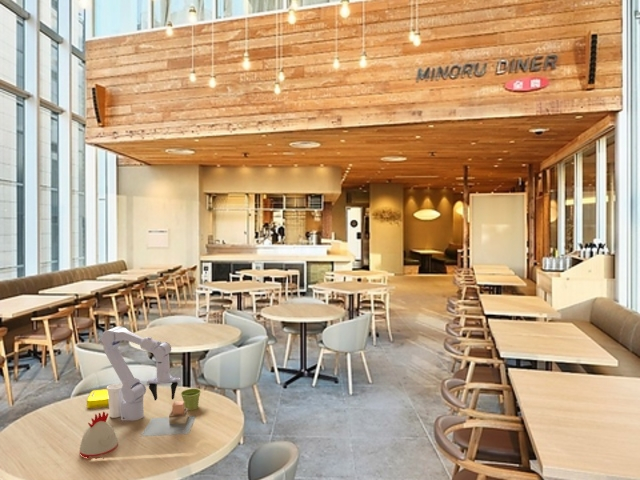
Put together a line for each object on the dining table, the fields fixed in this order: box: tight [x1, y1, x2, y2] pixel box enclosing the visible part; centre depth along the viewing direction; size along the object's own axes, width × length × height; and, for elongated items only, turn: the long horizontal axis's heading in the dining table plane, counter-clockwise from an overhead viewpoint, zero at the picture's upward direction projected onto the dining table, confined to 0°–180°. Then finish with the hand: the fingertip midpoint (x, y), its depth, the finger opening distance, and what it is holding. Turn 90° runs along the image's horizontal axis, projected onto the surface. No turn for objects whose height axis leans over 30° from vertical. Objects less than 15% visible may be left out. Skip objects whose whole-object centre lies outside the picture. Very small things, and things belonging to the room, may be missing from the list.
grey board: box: [140, 415, 197, 437], centre depth 206 cm, size 20×18×1 cm
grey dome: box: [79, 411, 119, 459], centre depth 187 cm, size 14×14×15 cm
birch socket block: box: [168, 408, 189, 424], centre depth 212 cm, size 7×7×4 cm
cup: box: [106, 382, 125, 419], centre depth 220 cm, size 8×8×14 cm
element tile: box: [86, 388, 109, 409], centre depth 237 cm, size 15×15×5 cm
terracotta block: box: [171, 400, 185, 415], centre depth 211 cm, size 4×4×5 cm
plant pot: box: [180, 388, 202, 411], centre depth 226 cm, size 9×9×9 cm
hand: (164, 399), depth 213 cm, fingers open, 7 cm apart
